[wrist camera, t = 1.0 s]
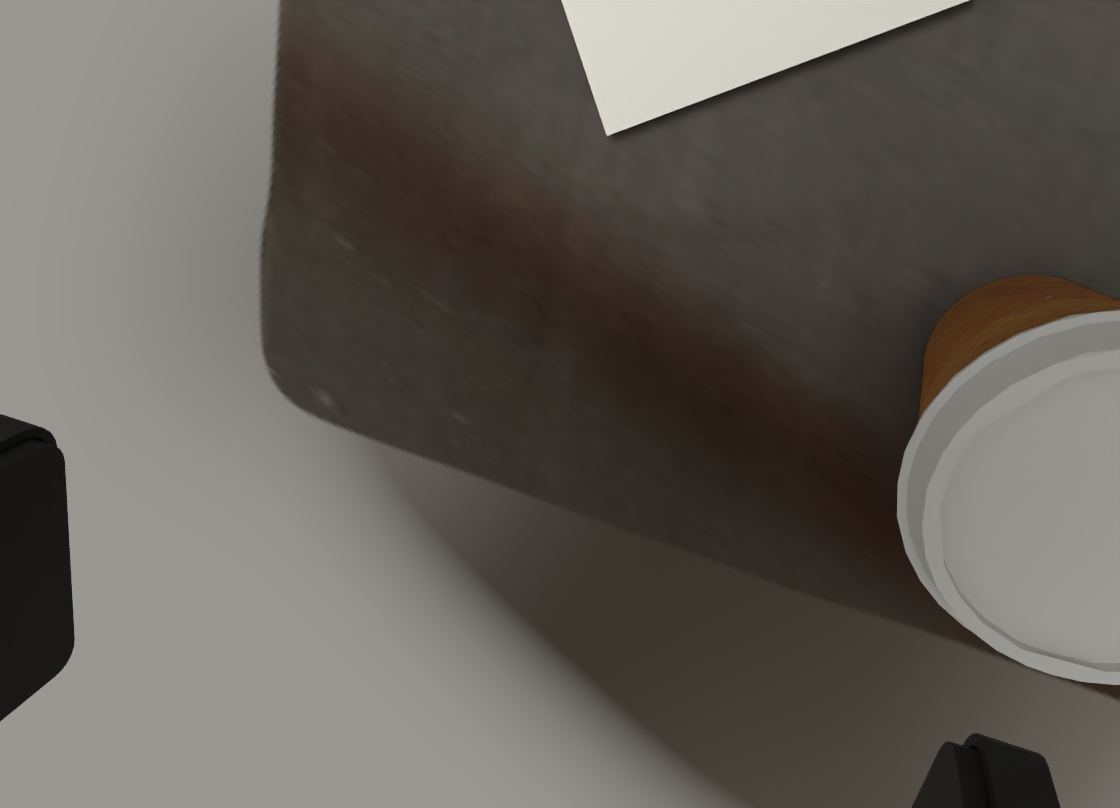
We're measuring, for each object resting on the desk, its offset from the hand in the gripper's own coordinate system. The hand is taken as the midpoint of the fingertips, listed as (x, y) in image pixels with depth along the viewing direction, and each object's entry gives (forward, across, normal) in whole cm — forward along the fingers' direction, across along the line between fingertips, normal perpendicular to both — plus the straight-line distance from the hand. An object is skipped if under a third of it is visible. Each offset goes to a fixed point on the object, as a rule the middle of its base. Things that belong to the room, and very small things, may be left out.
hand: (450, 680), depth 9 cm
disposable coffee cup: (+26, -11, +2) cm, 29 cm away
